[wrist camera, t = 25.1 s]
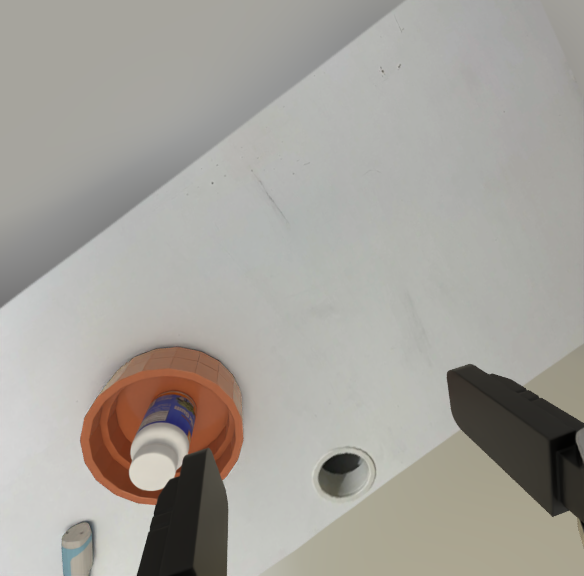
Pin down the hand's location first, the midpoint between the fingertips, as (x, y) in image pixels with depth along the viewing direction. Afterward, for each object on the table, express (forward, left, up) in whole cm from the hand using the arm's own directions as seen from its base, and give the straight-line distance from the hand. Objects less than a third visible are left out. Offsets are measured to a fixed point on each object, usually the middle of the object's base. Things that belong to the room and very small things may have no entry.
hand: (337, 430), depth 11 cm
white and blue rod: (-12, -44, -28) cm, 54 cm away
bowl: (-6, -18, -28) cm, 34 cm away
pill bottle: (-6, -18, -28) cm, 34 cm away
